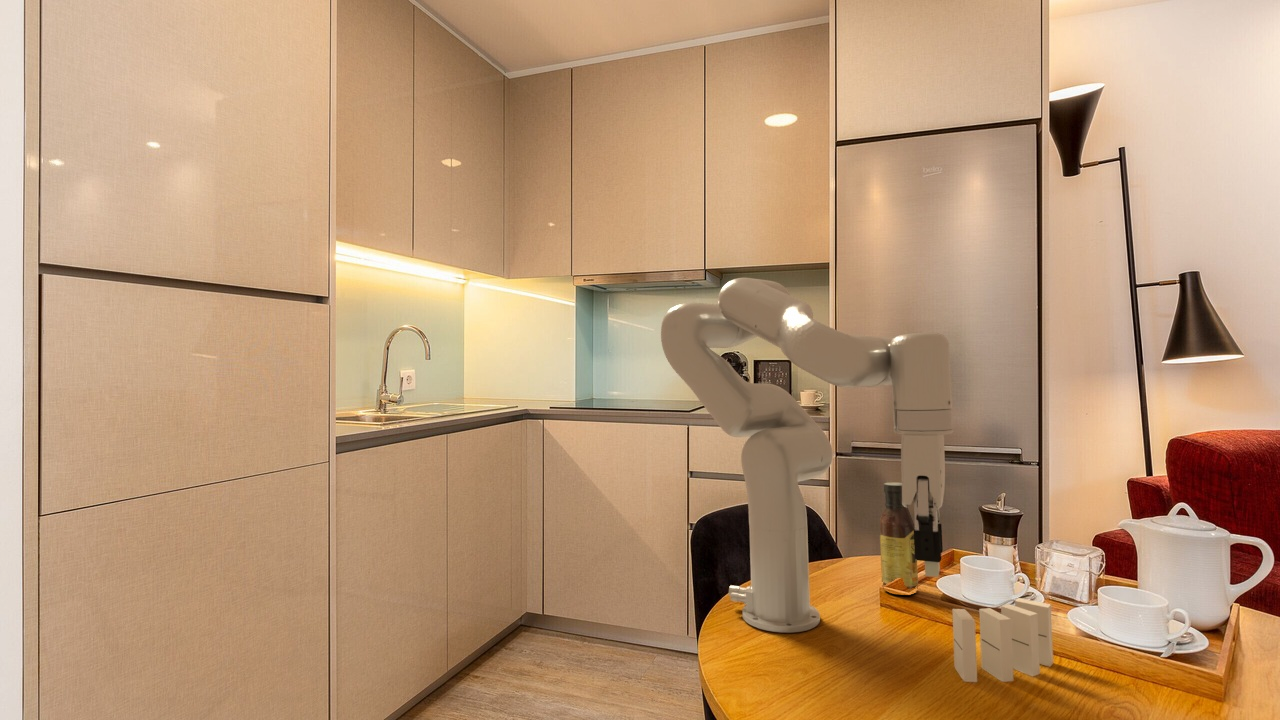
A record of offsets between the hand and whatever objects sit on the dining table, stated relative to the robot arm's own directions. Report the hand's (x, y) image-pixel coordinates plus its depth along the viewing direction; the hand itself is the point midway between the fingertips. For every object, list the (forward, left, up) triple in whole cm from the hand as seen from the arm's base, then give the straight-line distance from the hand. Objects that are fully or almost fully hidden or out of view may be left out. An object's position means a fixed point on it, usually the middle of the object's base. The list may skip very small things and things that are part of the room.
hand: (929, 554), depth 86 cm
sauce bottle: (-8, +31, -16) cm, 35 cm away
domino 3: (+10, +5, -16) cm, 19 cm away
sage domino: (0, 0, -2) cm, 2 cm away
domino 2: (+8, +2, -16) cm, 17 cm away
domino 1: (+4, 0, -16) cm, 16 cm away
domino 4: (+12, +9, -16) cm, 22 cm away
